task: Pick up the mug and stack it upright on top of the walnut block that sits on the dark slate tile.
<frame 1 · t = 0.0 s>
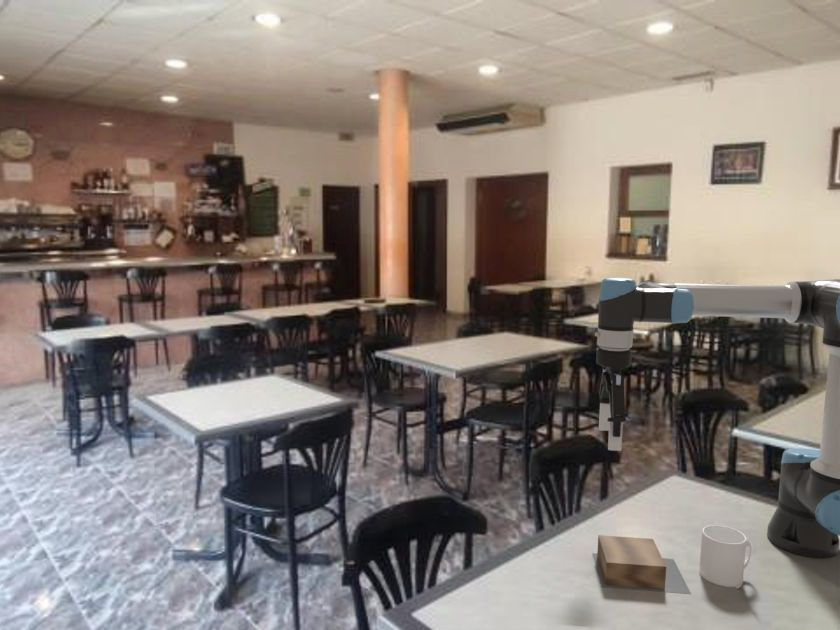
hand: (609, 439, 145), 28 cm above the table, fingers open, 13 cm apart
walnut block: (629, 571, 140), point 1 cm above the table, touching slate tile
slate tile: (638, 577, 140), on the table
mug: (726, 580, 139), on the table
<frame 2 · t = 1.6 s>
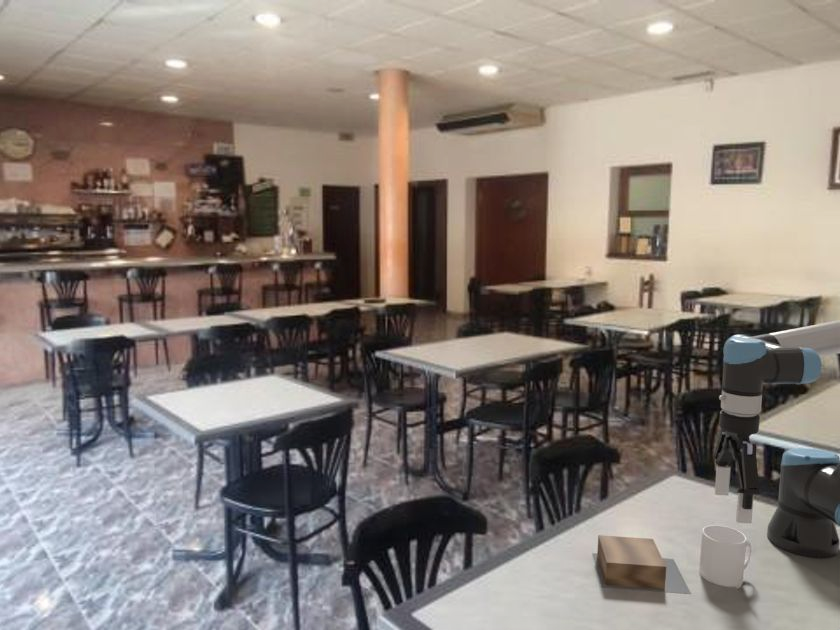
hand: (731, 507, 137), 16 cm above the table, fingers open, 13 cm apart
nothing on the table moved.
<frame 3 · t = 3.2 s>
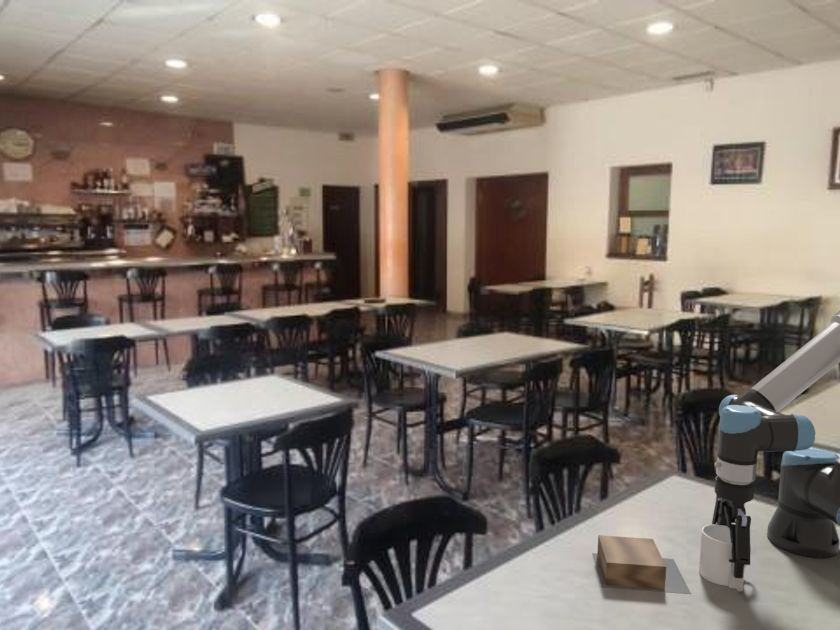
hand: (726, 577, 139), 1 cm above the table, fingers open, 9 cm apart
mug: (726, 579, 140), on the table, touching gripper
everything else where it was.
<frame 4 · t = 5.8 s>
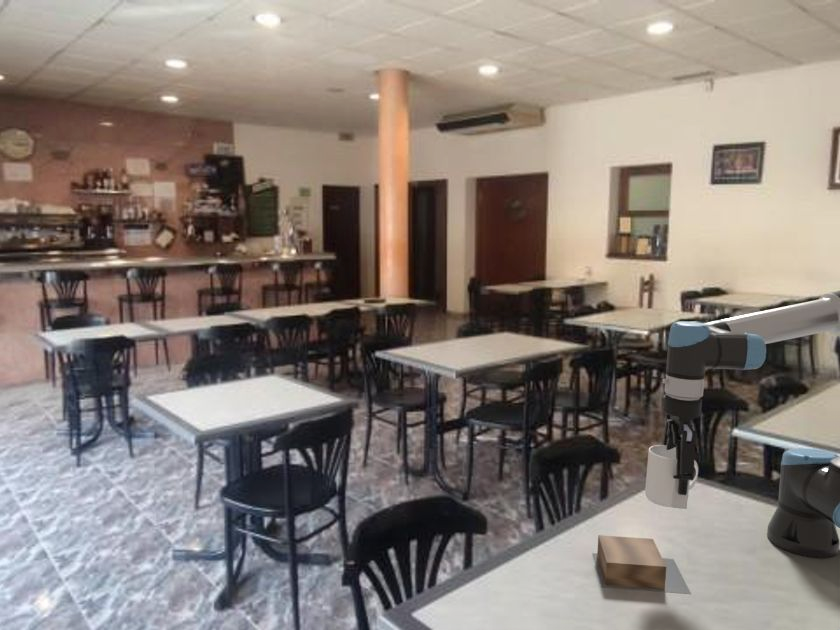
hand: (673, 498, 137), 18 cm above the table, fingers closed on mug, 9 cm apart
mug: (672, 499, 138), point 18 cm above the table, touching gripper
everything else where it was.
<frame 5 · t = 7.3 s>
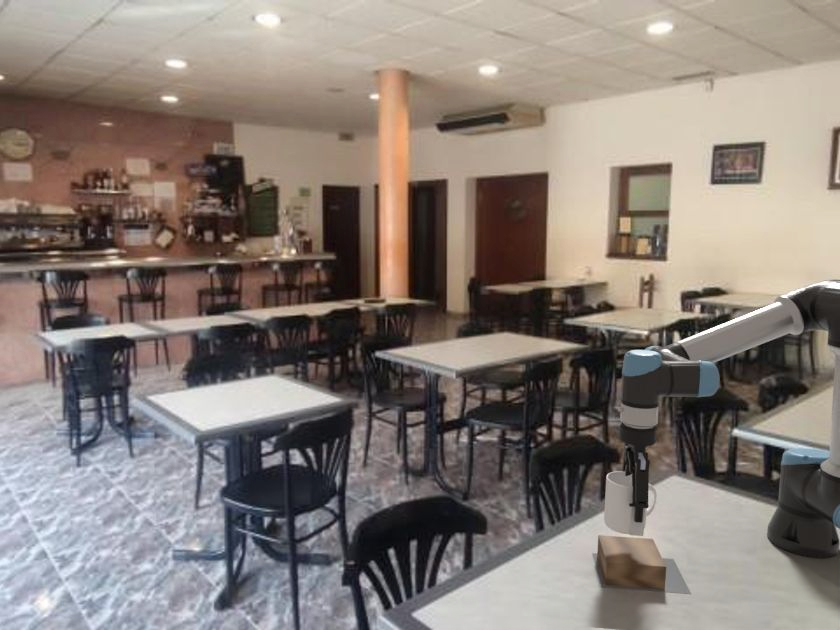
hand: (631, 524, 138), 12 cm above the table, fingers closed on mug, 9 cm apart
mug: (631, 525, 139), point 12 cm above the table, touching gripper
everything else where it was.
when the fingers open (9 cm above the table, at t = 8.3 s): mug drops 2 cm, resting on walnut block.
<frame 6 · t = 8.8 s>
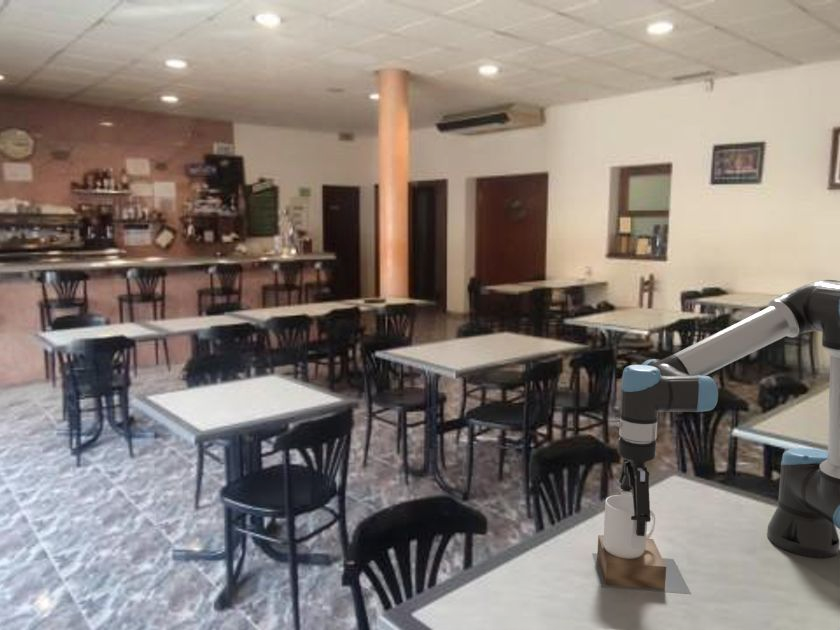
hand: (631, 532, 139), 10 cm above the table, fingers open, 13 cm apart
walnut block: (629, 571, 140), point 1 cm above the table, touching mug, slate tile
mug: (630, 549, 140), point 6 cm above the table, touching walnut block
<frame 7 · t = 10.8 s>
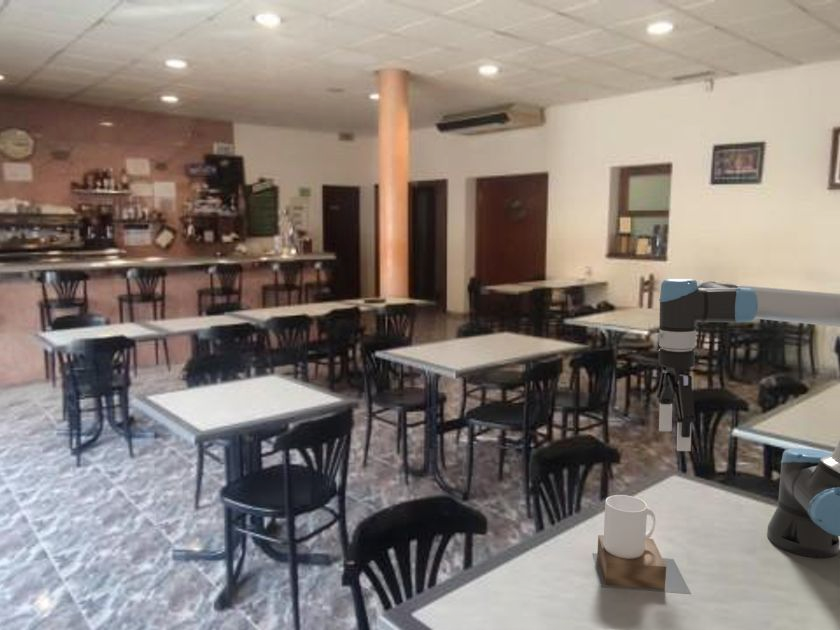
hand: (674, 440, 145), 28 cm above the table, fingers open, 13 cm apart
nothing on the table moved.
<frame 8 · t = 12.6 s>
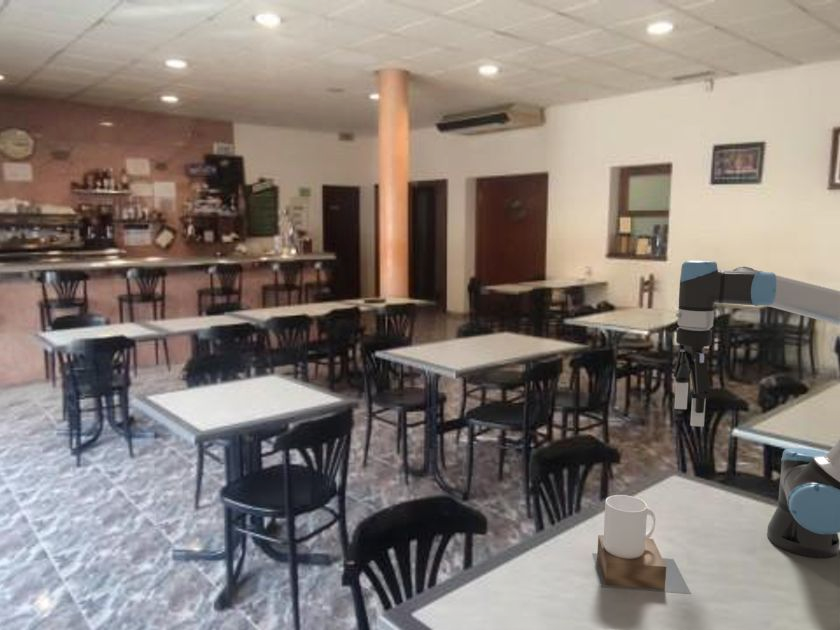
hand: (688, 417, 150), 32 cm above the table, fingers open, 13 cm apart
nothing on the table moved.
at the end: mug inside the target area on the walnut block (0.7 cm from its centre), point 4.8 cm above the walnut block's base; mug tilted 0°; the gripper is holding nothing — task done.
